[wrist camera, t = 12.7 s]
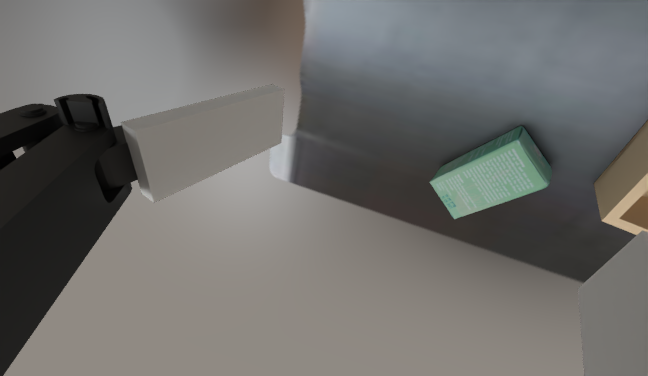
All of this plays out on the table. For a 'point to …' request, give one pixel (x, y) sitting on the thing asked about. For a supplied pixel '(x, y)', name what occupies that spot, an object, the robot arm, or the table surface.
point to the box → (492, 174)
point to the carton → (626, 186)
